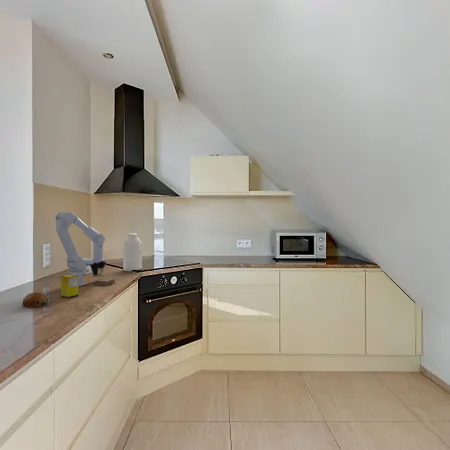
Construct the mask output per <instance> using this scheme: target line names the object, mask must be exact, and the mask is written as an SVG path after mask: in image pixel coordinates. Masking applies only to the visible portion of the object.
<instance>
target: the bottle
mask: <svg viewBox="0 0 450 450" xmlns="http://www.w3.org/2000/svg"><path fill="white" fill-rule="evenodd" d="M123 245H124V247H123V249H122V250H123V259H122V260H123V271H124V272H133V271H132V270H138V269H141V268H142V269H143V248H142V245H143V243H142V241H141V239H140V238H139V237H138V233H135V232H134V233H128V237H127V238H126V239H125V240H124V242H123Z"/></svg>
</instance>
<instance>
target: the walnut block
mask: <svg viewBox="0 0 450 450" xmlns="http://www.w3.org/2000/svg"><path fill="white" fill-rule="evenodd" d="M113 284H116V279H115V278H108V277H107V278H106V277H105V278H104V277H103V278H102V277H101V278H100V279H97V280H95V286H105V287H107V286H111V285H113Z"/></svg>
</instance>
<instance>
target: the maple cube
mask: <svg viewBox="0 0 450 450" xmlns="http://www.w3.org/2000/svg"><path fill="white" fill-rule="evenodd" d="M104 270H105V267H104V268H98V272H97V275H93V271H92V270H91V277H92V278H102V277H104V276H105V274H104V273H105V271H104Z"/></svg>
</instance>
